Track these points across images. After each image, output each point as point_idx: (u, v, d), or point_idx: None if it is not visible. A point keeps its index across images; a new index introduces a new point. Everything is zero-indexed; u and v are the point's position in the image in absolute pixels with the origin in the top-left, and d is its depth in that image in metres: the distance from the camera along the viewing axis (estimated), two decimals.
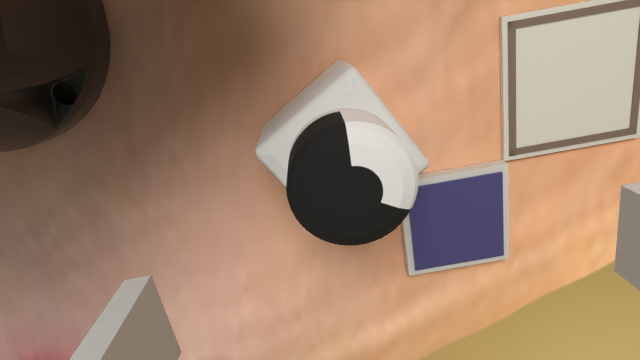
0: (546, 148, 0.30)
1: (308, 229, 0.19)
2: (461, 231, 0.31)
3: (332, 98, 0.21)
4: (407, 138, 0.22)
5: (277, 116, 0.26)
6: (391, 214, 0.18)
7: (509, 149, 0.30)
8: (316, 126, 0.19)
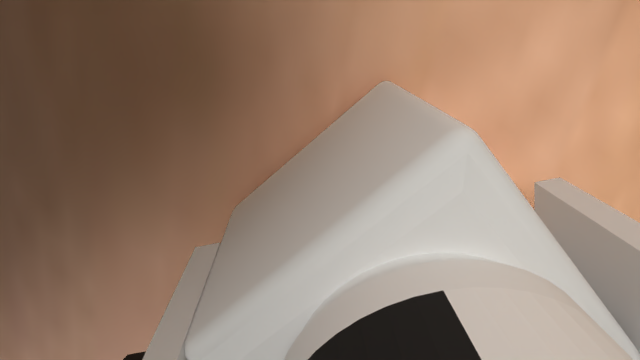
0: None
1: None
2: None
3: (401, 218, 0.07)
4: (600, 309, 0.08)
5: (254, 207, 0.12)
6: None
7: None
8: None
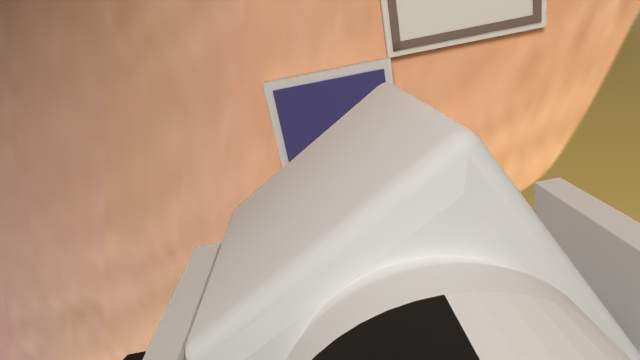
0: (436, 41, 0.25)
1: None
2: None
3: (402, 221, 0.07)
4: (601, 312, 0.08)
5: (255, 209, 0.12)
6: None
7: (392, 42, 0.25)
8: None
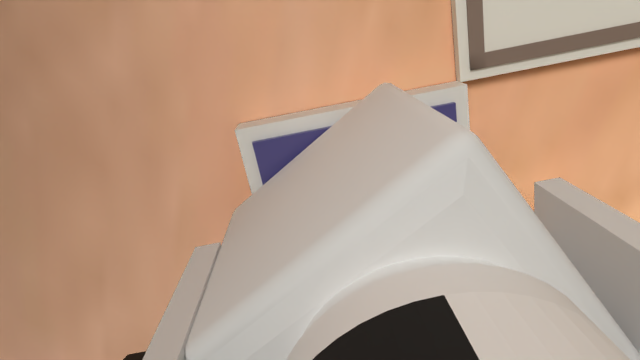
0: (549, 52, 0.14)
1: None
2: None
3: (402, 222, 0.07)
4: (601, 312, 0.08)
5: (255, 209, 0.12)
6: None
7: (470, 55, 0.14)
8: None
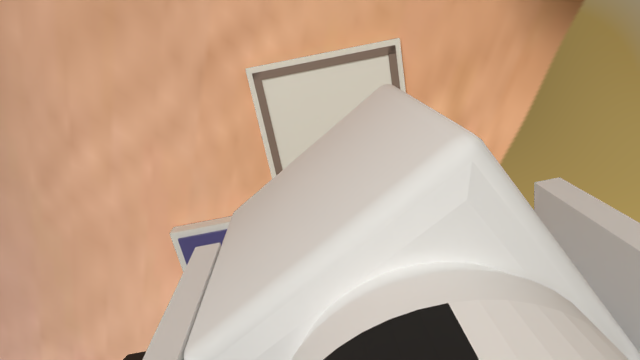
0: None
1: None
2: None
3: (404, 227, 0.07)
4: (606, 318, 0.08)
5: (254, 212, 0.12)
6: None
7: None
8: None
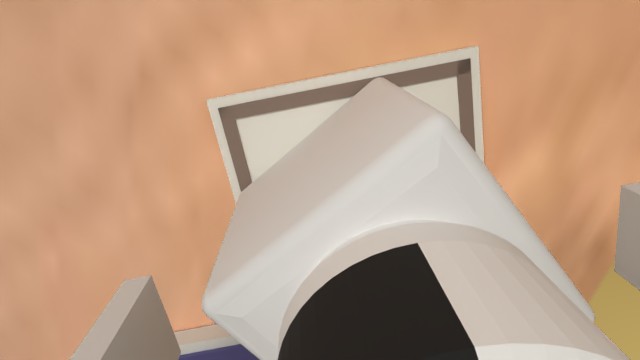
0: None
1: None
2: None
3: (387, 189, 0.08)
4: (557, 272, 0.10)
5: (260, 190, 0.14)
6: None
7: None
8: (361, 319, 0.06)
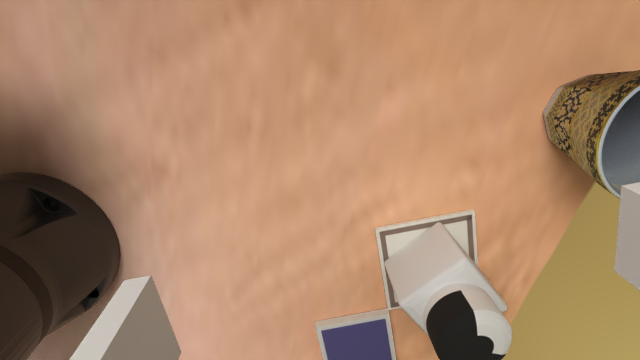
0: None
1: None
2: (361, 355, 0.45)
3: (451, 275, 0.34)
4: (495, 294, 0.35)
5: (399, 264, 0.39)
6: (497, 358, 0.32)
7: (390, 303, 0.44)
8: (452, 306, 0.32)
